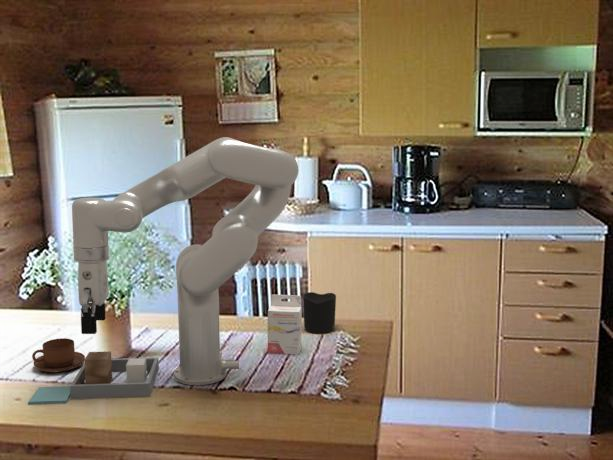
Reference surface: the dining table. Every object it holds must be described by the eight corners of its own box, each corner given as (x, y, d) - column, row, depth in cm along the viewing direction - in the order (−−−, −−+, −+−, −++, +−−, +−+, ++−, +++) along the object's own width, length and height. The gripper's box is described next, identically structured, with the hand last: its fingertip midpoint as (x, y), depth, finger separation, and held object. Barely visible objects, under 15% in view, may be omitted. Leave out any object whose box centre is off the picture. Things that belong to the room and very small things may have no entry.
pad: (75, 388, 158) (75, 385, 158) (66, 403, 150) (66, 400, 150) (39, 389, 157) (39, 386, 157) (28, 404, 149) (28, 401, 149)
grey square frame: (158, 369, 169) (158, 357, 168) (150, 396, 153) (149, 383, 153) (86, 371, 167) (86, 359, 167) (70, 399, 152) (69, 386, 151)
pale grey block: (147, 378, 163) (146, 358, 163) (144, 385, 160) (143, 364, 159) (129, 379, 163) (128, 359, 162) (127, 385, 159) (126, 365, 158)
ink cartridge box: (267, 353, 180) (266, 299, 177) (269, 347, 184) (269, 293, 182) (299, 355, 179) (299, 300, 176) (301, 348, 184) (301, 294, 181)
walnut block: (112, 379, 163) (111, 351, 161) (108, 388, 158) (106, 359, 157) (90, 380, 162) (89, 352, 161) (86, 389, 157) (84, 359, 156)
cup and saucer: (50, 380, 163) (48, 355, 161) (24, 368, 170) (22, 344, 169) (94, 366, 172) (93, 342, 170) (68, 354, 179) (67, 332, 178)
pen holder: (318, 336, 193) (318, 302, 191) (296, 328, 200) (296, 295, 198) (342, 329, 199) (342, 296, 197) (320, 322, 206) (320, 289, 204)
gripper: (100, 261, 146) (103, 339, 149) (115, 245, 163) (117, 315, 166) (64, 261, 146) (67, 339, 149) (83, 245, 163) (85, 315, 166)
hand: (93, 326), depth 157 cm, fingers open, 9 cm apart
